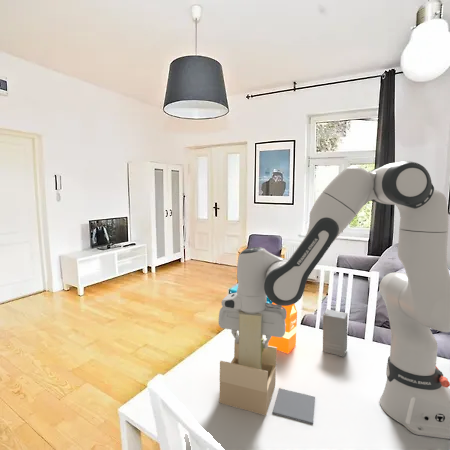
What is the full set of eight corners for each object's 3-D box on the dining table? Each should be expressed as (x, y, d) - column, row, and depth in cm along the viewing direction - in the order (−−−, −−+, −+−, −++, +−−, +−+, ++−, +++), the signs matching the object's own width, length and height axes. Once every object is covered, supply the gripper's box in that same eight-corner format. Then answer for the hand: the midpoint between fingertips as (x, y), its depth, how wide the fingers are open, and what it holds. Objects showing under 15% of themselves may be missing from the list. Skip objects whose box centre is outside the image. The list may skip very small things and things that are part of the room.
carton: (275, 385, 96) (276, 347, 95) (265, 416, 83) (267, 372, 81) (234, 375, 101) (235, 339, 100) (219, 403, 87) (219, 361, 86)
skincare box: (346, 350, 119) (349, 312, 117) (343, 358, 113) (345, 318, 111) (325, 344, 123) (327, 307, 122) (320, 352, 117) (322, 313, 116)
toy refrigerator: (262, 385, 87) (263, 315, 84) (237, 381, 88) (238, 313, 86) (264, 369, 94) (265, 305, 92) (241, 366, 96) (242, 303, 94)
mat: (315, 398, 90) (315, 396, 90) (312, 424, 80) (312, 422, 80) (279, 389, 94) (279, 388, 94) (272, 413, 84) (272, 411, 84)
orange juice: (276, 339, 127) (278, 294, 125) (295, 345, 122) (298, 298, 120) (267, 346, 120) (269, 299, 118) (288, 354, 115) (290, 304, 113)
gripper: (288, 301, 88) (287, 346, 90) (223, 294, 95) (223, 335, 97) (285, 309, 82) (284, 356, 84) (216, 300, 89) (216, 344, 91)
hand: (251, 345), depth 90 cm, fingers closed on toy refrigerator, 7 cm apart
